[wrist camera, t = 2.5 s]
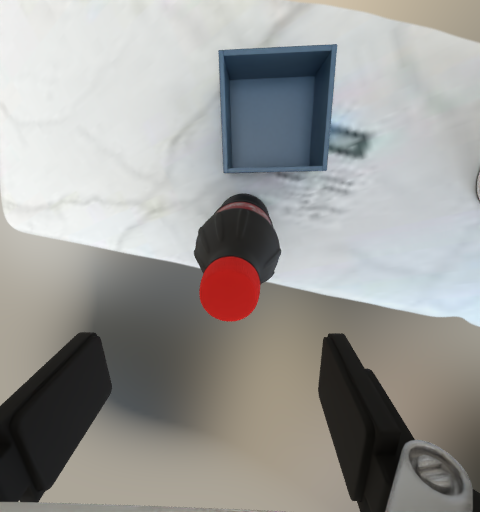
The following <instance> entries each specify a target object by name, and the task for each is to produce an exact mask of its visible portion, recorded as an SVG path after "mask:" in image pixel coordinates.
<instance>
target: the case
mask: <svg viewBox="0 0 480 512" xmlns="http://www.w3.org/2000/svg"><path fill="white" fill-rule="evenodd" d="M336 53H337V44H333V45H312V46H292V47H272V48H253V49H233V50H219V73H220V97H221V121H222V145H223V169H224V173H251V172H292V171H326V170H327V160H328V148H329V136H330V124H331V112H332V101H333V89H334V77H335V65H336Z"/></svg>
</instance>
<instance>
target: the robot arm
mask: <svg viewBox="0 0 480 512" xmlns="http://www.w3.org/2000/svg"><path fill="white" fill-rule="evenodd" d="M477 194H478V197H479V200H480V173H479V176H478V180H477ZM111 389H112V384H111V380H110V376H109V372H108V368H107V364H106V359H105V355H104V351H103V347H102V342H101V339H100V337H99V336H97V334H96V333H90V332H89V333H86V332H82V333H78V334H77V335H76V336H75V337H74V338H73V339H72V340H71V341H70V342H69V343H67V344H66V345H65V346H64V347H63V348H62V349H61V350H60V351H59V352H58V353H57V354H56V355H55V356H53V357H52V358H51V359H50V360H49V361H48V362H47V363H46V364H45V365H44V366H43V367H42V368H41V369H39V370H38V371H37V372H36V373H35V374H34V375H33V376H32V377H31V378H30V379H29V380H28V381H27V382H26V383H25V384H23V385H22V386H21V387H20V388H19V389H18V390H17V391H16V392H15V393H14V394H13V395H12V396H11V397H10V398H9V399H7V400H6V401H5V402H4V403H3V404H2V405H1V406H0V512H283V511H259V510H237V509H212V508H187V507H161V506H133V505H132V506H131V505H104V504H70V503H68V504H67V503H38V502H39V500H40V498H41V497H42V495H43V493H44V492H45V491H46V490H48V489H50V488H51V487H52V485H53V484H54V482H55V481H56V479H57V478H58V476H59V474H60V473H61V471H62V470H63V468H64V467H65V465H66V463H67V462H68V460H69V458H70V457H71V455H72V454H73V452H74V451H75V449H76V448H77V446H78V444H79V443H80V441H81V440H82V438H83V436H84V435H85V433H86V432H87V430H88V429H89V427H90V425H91V424H92V422H93V421H94V419H95V417H96V416H97V414H98V413H99V411H100V410H101V408H102V406H103V405H104V403H105V401H106V400H107V398H108V397H109V395H110V393H111ZM318 392H319V398H320V401H321V404H322V408H323V411H324V414H325V417H326V421H327V424H328V427H329V431H330V434H331V437H332V440H333V444H334V446H335V450H336V453H337V457H338V460H339V463H340V466H341V469H342V473H343V476H344V479H345V482H346V486H347V489H348V492H349V495H350V498H351V500H352V501H357V503H358V506H359V509H360V512H480V493H478V492H477V491H475V490H473V489H472V485H471V481H470V479H469V477H468V475H467V473H466V471H465V470H464V469H463V468H462V467H461V465H460V464H459V463H458V462H457V461H456V460H455V459H454V458H453V457H452V456H451V455H450V454H449V453H447V452H446V451H444V450H443V449H441V448H440V447H438V446H436V445H434V444H431V443H429V442H425V441H421V440H415V439H414V438H413V436H412V434H411V433H410V431H409V430H408V428H407V426H406V425H405V423H404V422H403V420H402V418H401V417H400V415H399V413H398V412H397V410H396V408H395V407H394V405H393V404H392V402H391V400H390V399H389V397H388V396H387V394H386V392H385V391H384V389H383V387H382V386H381V384H380V383H379V381H378V379H377V378H376V376H375V375H374V373H373V372H372V370H370V369H364V367H363V365H362V364H361V362H360V360H359V358H358V357H357V355H356V353H355V352H354V350H353V348H352V347H351V345H350V343H349V341H348V340H347V338H346V336H345V335H344V334H328V337H324V339H323V347H322V357H321V367H320V377H319V387H318ZM19 500H20V502H18V501H19Z"/></svg>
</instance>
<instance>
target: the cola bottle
mask: <svg viewBox="0 0 480 512" xmlns="http://www.w3.org/2000/svg"><path fill="white" fill-rule="evenodd" d="M280 255H281V249H280V246H279V240H278V237H277V234H276V232H275V230H274V228H273V225H272V221H271V219H270V217H269V214H268V211H267V208H266V206H265V205H264V204H263V202H262V201H261V200H259V199H258V198H257V197H255V196H252V195H249V194H238V195H234V196H232V197H230V198H229V199H227V200H226V201H225V202H224V203H223V205H222V206H221V207H220V208H219V209H218V210H217V211H216V212H215V213H214V215H213V216H212V217H211V218H210V219H209V220H208V221H207V222H206V223H205V224H204V225H203V226H202V227H201V228H200V229H199V231H198V237H197V241H196V248H195V250H194V256H195V258H196V260H197V262H198V263H199V266H200V268H201V270H202V272H203V273H204V274H203V277H202V280H201V284H200V300H201V303H202V305H203V307H204V308H205V310H206V311H207V312H208V313H209V314H210V315H211V316H213V317H215V318H217V319H219V320H222V321H237V320H241V319H243V318H244V317H247V316H248V315H249V314H250V313H251V312H252V311H253V310H254V309H255V307H256V305H257V302H258V299H259V294H260V284H261V283H263V282H265V281H267V280H268V279H270V278H271V277H272V276H273V274H274V270H275V267H276V265H277V262H278V259H279V256H280Z"/></svg>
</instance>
